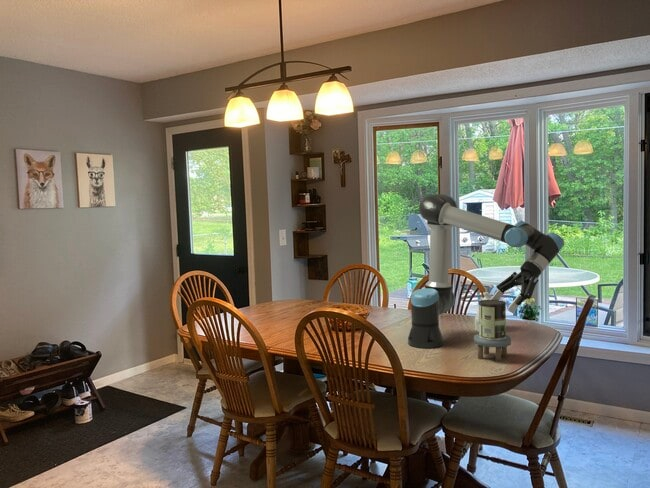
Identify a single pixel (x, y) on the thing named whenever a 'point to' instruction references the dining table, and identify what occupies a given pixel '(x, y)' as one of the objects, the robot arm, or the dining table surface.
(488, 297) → the white tapered piece
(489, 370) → the dining table surface
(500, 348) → the stool
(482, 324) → the coffee can
